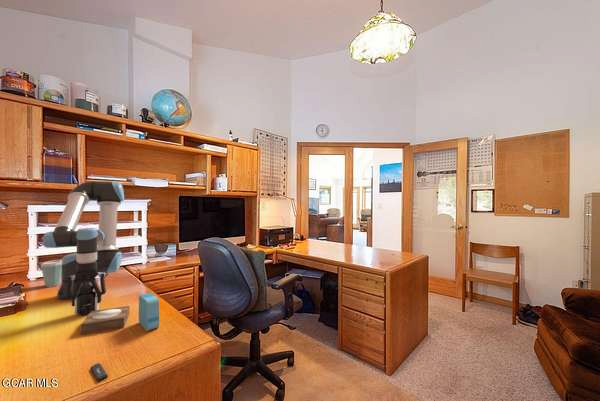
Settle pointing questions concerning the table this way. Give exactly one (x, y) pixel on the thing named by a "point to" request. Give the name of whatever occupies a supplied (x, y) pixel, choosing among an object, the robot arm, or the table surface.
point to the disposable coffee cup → (52, 272)
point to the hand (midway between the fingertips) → (86, 311)
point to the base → (105, 320)
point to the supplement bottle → (86, 300)
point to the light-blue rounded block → (149, 311)
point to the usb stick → (98, 372)
